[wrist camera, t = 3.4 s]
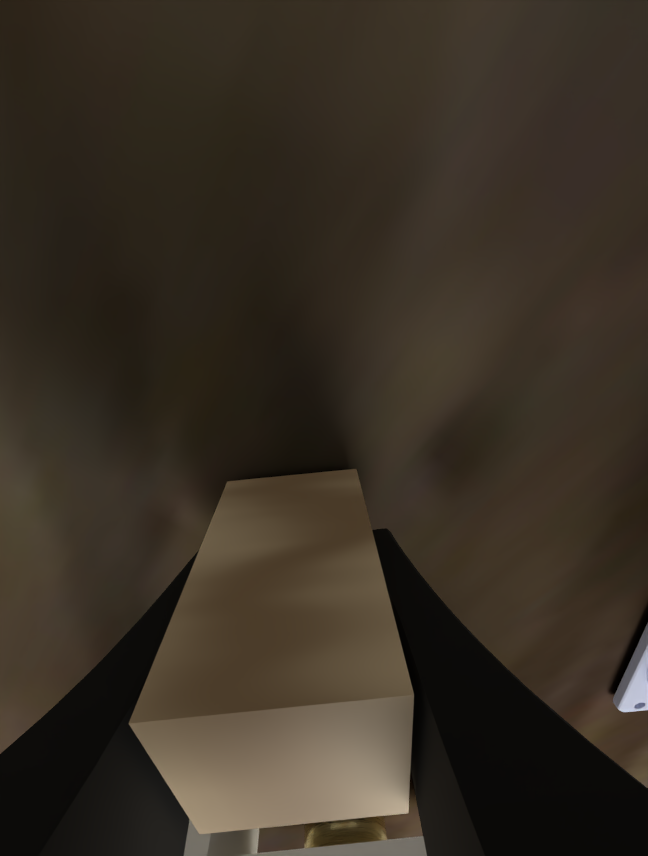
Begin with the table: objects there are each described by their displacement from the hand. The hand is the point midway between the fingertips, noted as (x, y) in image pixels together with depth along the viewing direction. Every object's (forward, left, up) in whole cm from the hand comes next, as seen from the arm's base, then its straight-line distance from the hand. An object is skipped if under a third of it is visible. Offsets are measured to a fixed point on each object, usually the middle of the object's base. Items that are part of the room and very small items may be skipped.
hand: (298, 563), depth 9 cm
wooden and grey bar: (0, +8, -2) cm, 8 cm away
